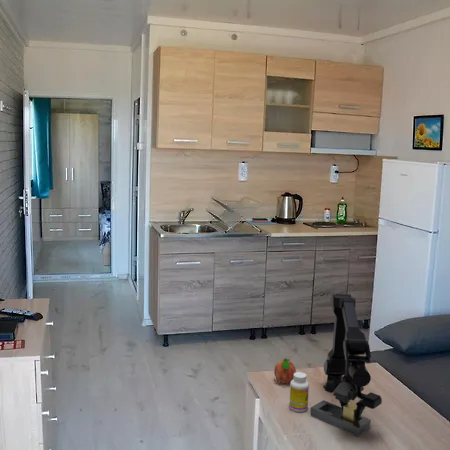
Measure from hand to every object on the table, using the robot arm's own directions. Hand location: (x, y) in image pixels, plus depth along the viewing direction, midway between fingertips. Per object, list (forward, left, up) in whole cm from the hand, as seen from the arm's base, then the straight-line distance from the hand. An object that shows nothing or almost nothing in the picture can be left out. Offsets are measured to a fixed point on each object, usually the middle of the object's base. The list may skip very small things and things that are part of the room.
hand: (351, 416), depth 179 cm
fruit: (-11, -37, -4) cm, 39 cm away
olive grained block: (0, 0, -3) cm, 3 cm away
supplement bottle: (+3, -20, -4) cm, 20 cm away
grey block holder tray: (0, -4, -4) cm, 6 cm away
